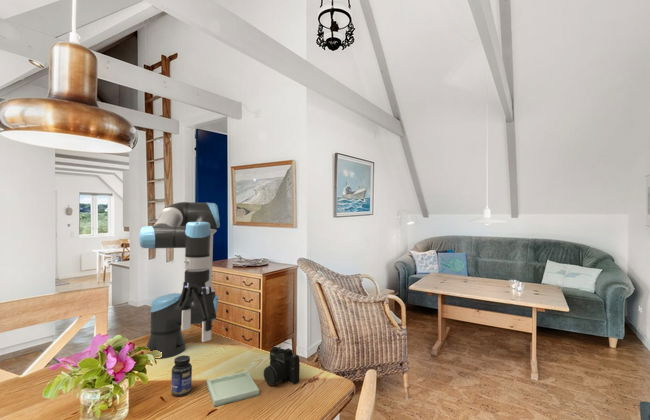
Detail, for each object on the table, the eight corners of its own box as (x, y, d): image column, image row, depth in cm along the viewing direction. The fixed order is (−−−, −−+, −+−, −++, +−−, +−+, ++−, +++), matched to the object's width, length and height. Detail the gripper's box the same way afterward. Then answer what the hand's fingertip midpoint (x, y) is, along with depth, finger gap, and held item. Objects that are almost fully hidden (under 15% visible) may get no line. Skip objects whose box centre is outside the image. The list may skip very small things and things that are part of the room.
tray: (206, 385, 110) (206, 379, 110) (247, 375, 117) (247, 370, 117) (214, 406, 98) (214, 401, 98) (258, 395, 105) (259, 389, 105)
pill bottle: (183, 398, 102) (184, 363, 102) (166, 395, 104) (167, 361, 104) (195, 388, 108) (196, 355, 108) (179, 385, 110) (179, 353, 110)
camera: (254, 378, 116) (254, 350, 116) (277, 368, 124) (278, 342, 124) (278, 393, 106) (279, 362, 106) (302, 381, 114) (302, 353, 114)
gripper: (168, 265, 110) (167, 327, 110) (206, 276, 94) (204, 349, 94) (190, 263, 116) (188, 322, 116) (228, 273, 99) (227, 342, 99)
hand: (195, 334), depth 105 cm, fingers open, 13 cm apart
